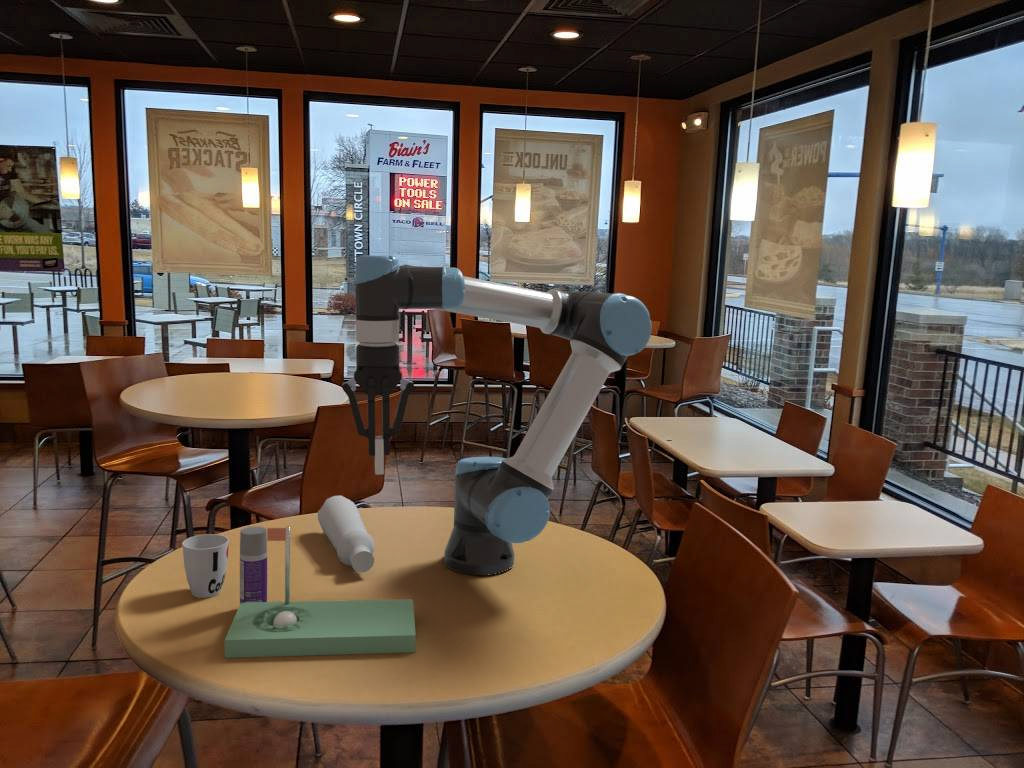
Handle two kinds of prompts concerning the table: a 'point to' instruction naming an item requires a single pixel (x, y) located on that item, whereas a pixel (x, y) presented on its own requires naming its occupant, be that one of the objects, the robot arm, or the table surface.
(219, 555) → the cup
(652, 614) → the table surface
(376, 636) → the green
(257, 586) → the container
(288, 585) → the flag pin
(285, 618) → the ball
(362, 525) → the bottle
